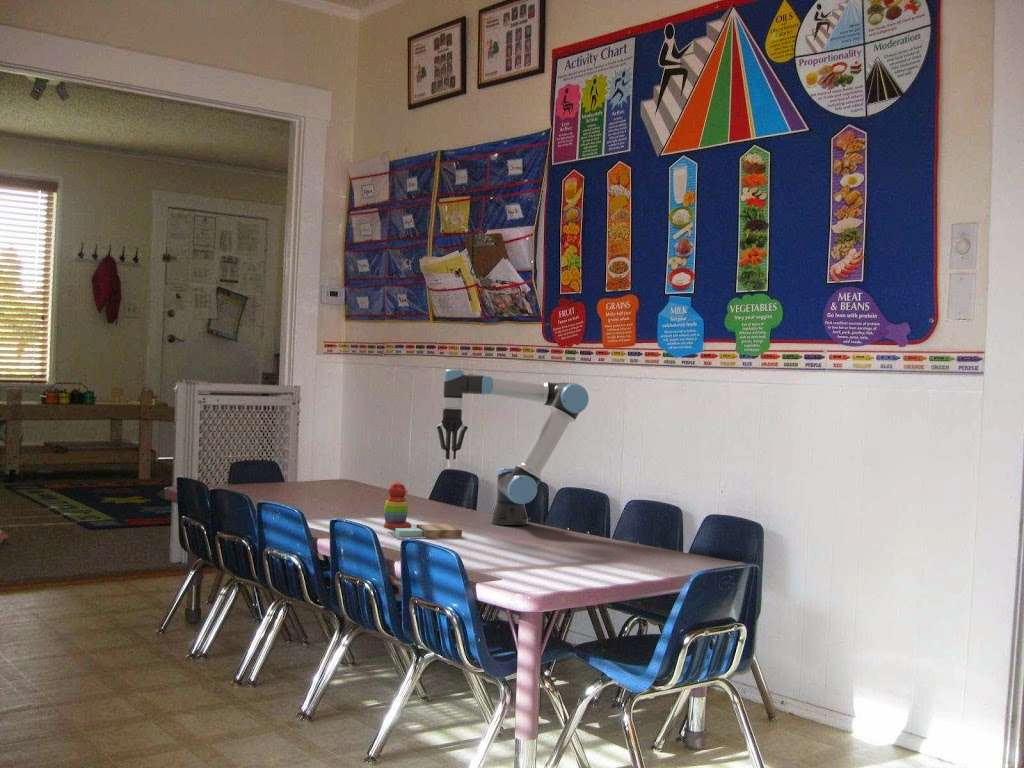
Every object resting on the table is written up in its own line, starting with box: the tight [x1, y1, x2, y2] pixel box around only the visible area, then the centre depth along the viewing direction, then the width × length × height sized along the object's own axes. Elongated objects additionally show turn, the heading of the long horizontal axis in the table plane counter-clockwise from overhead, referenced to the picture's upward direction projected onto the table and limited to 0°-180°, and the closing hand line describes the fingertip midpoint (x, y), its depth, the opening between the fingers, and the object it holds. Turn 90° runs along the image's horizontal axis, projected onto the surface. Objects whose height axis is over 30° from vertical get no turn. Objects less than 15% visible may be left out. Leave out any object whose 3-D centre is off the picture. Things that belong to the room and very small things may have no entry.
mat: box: [387, 530, 428, 540], centre depth 417 cm, size 11×16×1 cm
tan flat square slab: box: [415, 523, 463, 539], centre depth 422 cm, size 14×14×3 cm
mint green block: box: [394, 527, 423, 536], centre depth 417 cm, size 9×6×2 cm, turn 110°
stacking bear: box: [383, 481, 412, 530], centre depth 435 cm, size 11×10×18 cm
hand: (450, 467), depth 438 cm, fingers closed
